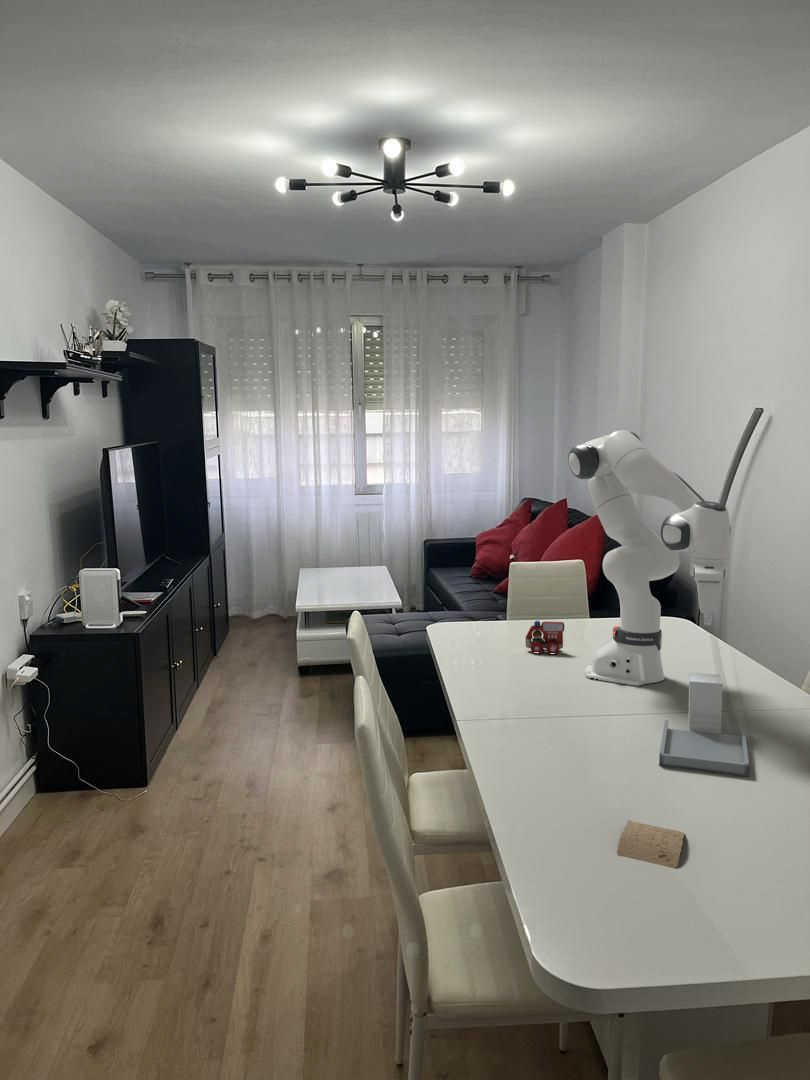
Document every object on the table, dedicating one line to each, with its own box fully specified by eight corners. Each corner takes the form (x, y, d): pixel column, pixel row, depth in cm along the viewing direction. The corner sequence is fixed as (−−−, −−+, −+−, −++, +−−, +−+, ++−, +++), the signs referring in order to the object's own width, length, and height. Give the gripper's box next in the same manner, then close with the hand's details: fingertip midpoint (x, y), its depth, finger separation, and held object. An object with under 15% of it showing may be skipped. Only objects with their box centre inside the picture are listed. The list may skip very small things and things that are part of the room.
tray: (659, 765, 170) (659, 754, 170) (664, 730, 190) (664, 720, 190) (748, 776, 164) (749, 765, 164) (744, 738, 184) (744, 728, 184)
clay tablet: (629, 823, 147) (630, 809, 146) (687, 834, 143) (687, 820, 142) (614, 861, 134) (615, 846, 134) (677, 875, 130) (678, 859, 129)
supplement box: (719, 724, 193) (721, 674, 191) (721, 735, 186) (723, 683, 185) (687, 721, 196) (689, 671, 194) (687, 732, 189) (689, 680, 187)
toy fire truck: (526, 648, 264) (527, 617, 263) (564, 650, 261) (565, 619, 260) (524, 653, 257) (524, 622, 256) (563, 655, 254) (563, 624, 253)
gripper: (696, 561, 205) (695, 614, 207) (694, 574, 186) (693, 632, 188) (722, 562, 203) (721, 615, 204) (723, 575, 184) (722, 634, 186)
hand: (707, 623), depth 196 cm, fingers closed
